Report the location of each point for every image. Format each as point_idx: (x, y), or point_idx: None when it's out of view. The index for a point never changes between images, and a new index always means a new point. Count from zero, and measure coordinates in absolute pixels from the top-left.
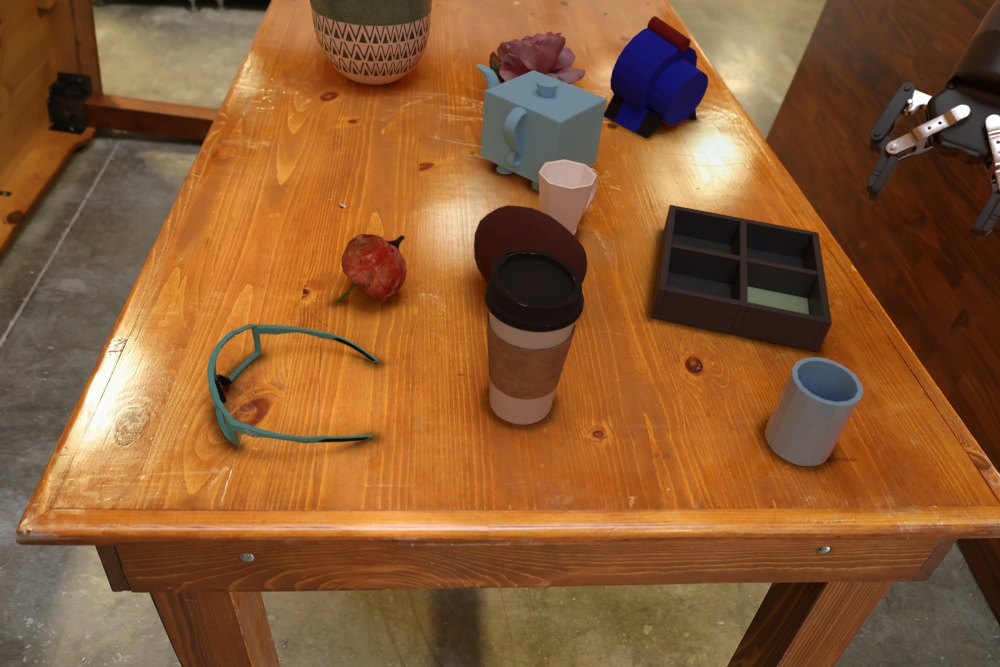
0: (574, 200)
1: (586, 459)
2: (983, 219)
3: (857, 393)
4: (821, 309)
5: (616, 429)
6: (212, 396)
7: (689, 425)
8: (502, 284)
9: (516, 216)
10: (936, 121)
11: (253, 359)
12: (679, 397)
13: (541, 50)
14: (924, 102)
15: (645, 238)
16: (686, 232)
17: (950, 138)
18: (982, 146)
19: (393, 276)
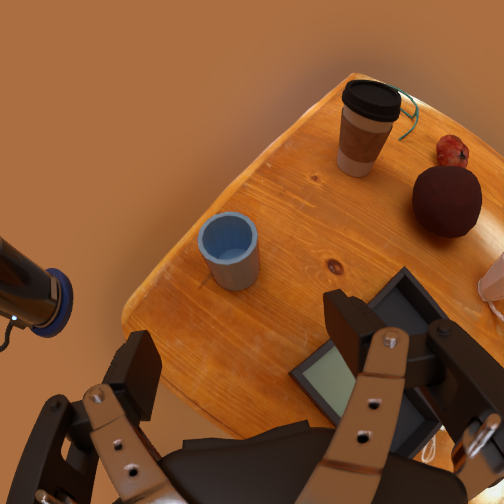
0: (497, 267)
1: (302, 164)
2: (130, 343)
3: (202, 244)
4: (312, 385)
5: (312, 186)
6: None
7: (291, 221)
8: (376, 87)
9: (466, 174)
10: (377, 433)
11: (409, 116)
12: (314, 233)
13: None
14: (464, 476)
15: None
16: None
17: (292, 445)
18: (183, 467)
19: (442, 149)
